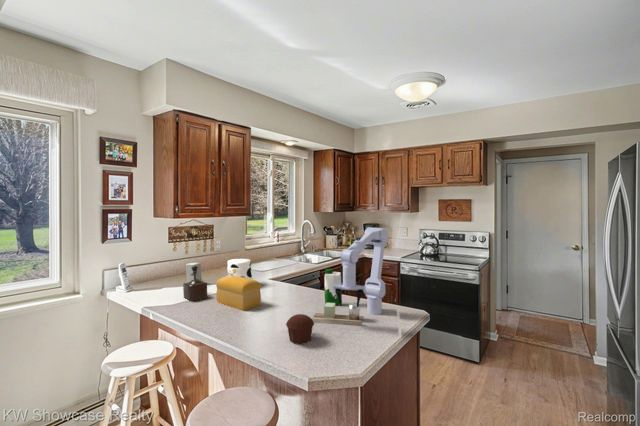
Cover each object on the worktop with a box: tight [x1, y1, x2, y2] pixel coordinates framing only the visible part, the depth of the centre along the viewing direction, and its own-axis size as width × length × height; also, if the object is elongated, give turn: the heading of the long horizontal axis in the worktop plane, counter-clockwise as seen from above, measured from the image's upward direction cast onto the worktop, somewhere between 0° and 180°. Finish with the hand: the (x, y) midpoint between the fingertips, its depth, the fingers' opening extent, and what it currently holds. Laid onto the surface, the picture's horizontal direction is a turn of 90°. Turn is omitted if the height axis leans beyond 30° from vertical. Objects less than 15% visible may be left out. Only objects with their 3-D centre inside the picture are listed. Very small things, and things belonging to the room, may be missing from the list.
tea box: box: [323, 303, 336, 319], centre depth 155 cm, size 4×6×6 cm
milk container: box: [226, 258, 254, 280], centre depth 217 cm, size 17×17×18 cm
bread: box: [215, 275, 262, 312], centre depth 180 cm, size 24×13×15 cm, turn 52°
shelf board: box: [309, 312, 364, 327], centre depth 152 cm, size 12×24×3 cm, turn 78°
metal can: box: [348, 302, 361, 320], centre depth 152 cm, size 5×5×7 cm
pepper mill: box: [182, 266, 208, 302], centre depth 193 cm, size 16×11×18 cm
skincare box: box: [185, 262, 203, 283], centre depth 219 cm, size 8×7×16 cm
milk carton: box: [324, 268, 342, 307], centre depth 176 cm, size 9×9×20 cm
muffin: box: [285, 313, 315, 345], centre depth 132 cm, size 12×11×10 cm
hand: (349, 305), depth 144 cm, fingers open, 7 cm apart
